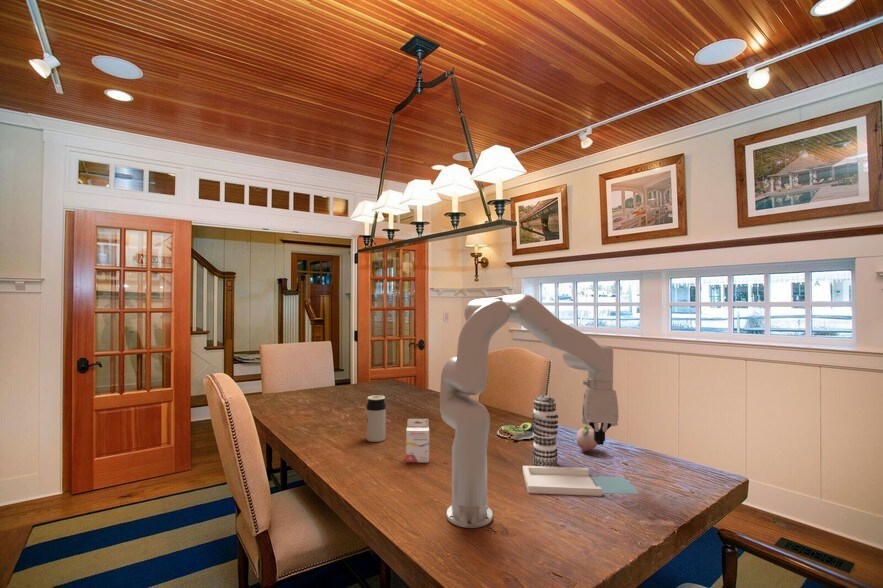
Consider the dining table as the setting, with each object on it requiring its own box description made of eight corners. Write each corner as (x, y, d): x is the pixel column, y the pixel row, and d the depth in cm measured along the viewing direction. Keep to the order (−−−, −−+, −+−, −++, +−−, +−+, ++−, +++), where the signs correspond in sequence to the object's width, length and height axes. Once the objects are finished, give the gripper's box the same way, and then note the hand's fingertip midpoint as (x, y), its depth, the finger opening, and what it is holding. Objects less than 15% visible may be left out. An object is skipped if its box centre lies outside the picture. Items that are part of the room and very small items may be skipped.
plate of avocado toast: (532, 446, 174) (532, 434, 174) (491, 440, 182) (491, 429, 182) (542, 432, 192) (542, 422, 192) (503, 428, 199) (503, 418, 199)
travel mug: (387, 436, 184) (387, 395, 185) (383, 442, 176) (383, 399, 177) (369, 436, 185) (369, 394, 186) (364, 442, 177) (364, 398, 178)
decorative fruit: (598, 457, 161) (598, 430, 161) (576, 454, 163) (575, 428, 164) (598, 448, 170) (597, 423, 170) (576, 446, 172) (576, 421, 172)
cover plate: (639, 499, 127) (639, 493, 128) (602, 498, 128) (602, 492, 128) (624, 482, 139) (624, 477, 139) (590, 481, 140) (590, 476, 140)
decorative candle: (558, 464, 153) (558, 394, 154) (558, 474, 144) (558, 400, 145) (532, 461, 156) (532, 393, 156) (531, 471, 147) (531, 398, 147)
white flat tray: (602, 499, 126) (601, 488, 126) (528, 496, 128) (528, 486, 128) (587, 476, 142) (587, 467, 142) (522, 474, 144) (522, 465, 144)
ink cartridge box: (405, 462, 154) (405, 422, 155) (406, 457, 159) (406, 418, 160) (429, 462, 155) (429, 422, 155) (429, 457, 160) (429, 418, 160)
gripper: (578, 386, 132) (577, 446, 131) (628, 388, 130) (628, 448, 130) (573, 382, 139) (572, 438, 138) (620, 383, 138) (619, 441, 137)
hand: (599, 443), depth 134 cm, fingers closed
